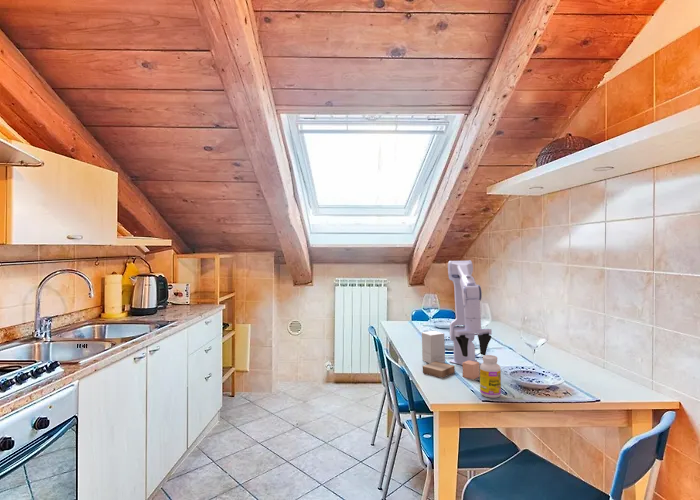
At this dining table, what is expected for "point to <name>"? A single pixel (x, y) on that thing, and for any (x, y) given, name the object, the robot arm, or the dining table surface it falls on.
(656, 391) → the dining table surface
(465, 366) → the terracotta block
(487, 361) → the supplement bottle
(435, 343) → the supplement box
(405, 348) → the dining table surface
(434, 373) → the walnut box
